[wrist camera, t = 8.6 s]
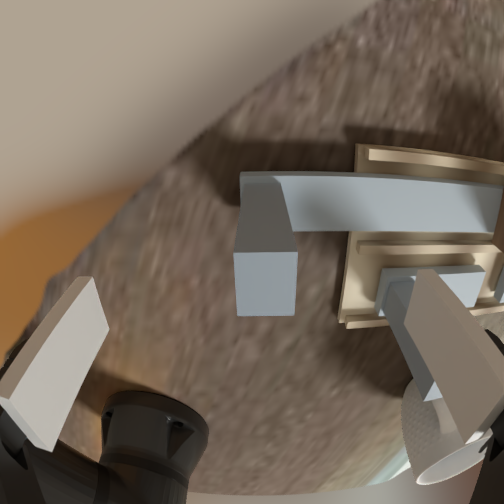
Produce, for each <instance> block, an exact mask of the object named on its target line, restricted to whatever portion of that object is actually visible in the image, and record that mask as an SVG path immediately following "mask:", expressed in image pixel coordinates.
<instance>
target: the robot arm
mask: <svg viewBox="0 0 504 504" xmlns="http://www.w3.org/2000/svg"><path fill="white" fill-rule="evenodd" d="M404 325H405V327H406V329H407V331H408V332H409V334H410V336H411V338H412V339H413V341H414V343H415V345H416V347H417V348H418V350H419V352H420V354H421V356H422V358H423V360H424V361H425V363H426V365H427V367H428V369H429V371H430V373H431V375H432V377H433V379H434V381H435V383H436V385H437V387H438V389H439V391H440V393H441V395H442V397H443V399H444V401H445V403H446V405H447V407H448V409H449V411H450V413H451V415H452V418H453V420H454V422H455V424H456V426H457V428H458V431H459V433H460V435H461V437H462V440H463V442H464V444H468V443H470V442H473V441H475V440H478V439H480V438H482V437H483V436H484V434H485V433H486V432H487V431H488V430H489V428H491V430H492V432H493V434H492V436H491V437H490V438H489V439H488V440H487V441H486V442H485V444H484V445H483V446H482V447H481V448H480V450H479V452H478V453H482V451H483V450H484V449H485V448H486V447H487V450H486V453H485V454H484V455H485V457H484V461H483V464H482V468H481V471H480V474H479V477H478V480H477V483H476V486H475V490H474V492H473V495H472V498H471V500H470V503H469V504H504V344H503V343H502V342H501V340H500V339H499V338H498V337H497V336H496V335H495V334H493V333H492V332H491V331H489V330H488V329H486V330H484V329H483V328H482V326H481V325H480V324H479V323H478V321H477V320H476V319H475V318H474V316H473V315H472V314H471V313H470V311H469V310H468V309H467V308H466V307H465V305H464V304H463V303H462V302H461V301H460V299H459V298H458V297H457V296H456V295H455V293H454V292H453V291H452V290H451V289H450V288H449V286H448V285H447V284H446V283H445V282H444V281H443V280H442V278H441V277H440V276H439V275H438V274H437V273H436V272H435V271H434V270H433V269H420V270H418V271H417V275H416V279H415V283H414V287H413V291H412V295H411V299H410V303H409V306H408V310H407V313H406V317H405V320H404ZM108 331H109V327H108V324H107V321H106V318H105V315H104V312H103V309H102V306H101V303H100V300H99V296H98V293H97V290H96V286H95V283H94V279H93V277H77V278H76V279H75V280H74V282H73V283H72V284H71V285H70V286H69V288H68V289H67V290H66V291H65V293H64V294H63V295H62V296H61V297H60V299H59V300H58V301H57V303H56V304H55V305H54V306H53V308H52V309H51V310H50V311H49V313H48V314H47V315H46V317H45V318H44V319H43V321H42V322H41V323H40V325H39V326H38V327H37V329H36V330H35V331H34V333H33V334H32V335H31V337H30V338H29V339H28V340H25V341H23V342H22V343H21V344H20V345H19V346H17V347H16V348H15V350H14V351H13V352H12V354H11V355H10V357H9V359H7V361H6V362H5V364H4V367H2V368H1V370H0V504H186V499H187V490H188V483H189V478H190V476H191V474H192V473H193V471H194V469H195V467H196V466H197V464H198V462H199V460H200V458H201V457H202V455H203V453H204V451H205V449H206V447H207V443H208V435H209V428H208V426H207V424H206V422H205V421H204V419H203V418H202V417H201V416H200V415H198V414H197V413H196V412H195V411H193V410H192V409H190V408H189V407H187V406H185V405H183V404H181V403H179V402H177V401H174V400H172V399H169V398H166V397H163V396H160V395H156V394H152V393H147V392H139V391H125V392H119V393H116V394H114V395H112V396H110V397H109V398H108V400H107V401H106V404H105V406H104V409H103V412H102V416H101V432H102V454H101V457H100V461H99V463H97V462H96V461H94V460H92V459H91V458H89V457H87V456H85V455H84V454H82V453H80V452H78V451H77V450H75V449H73V448H72V447H70V446H68V445H67V444H65V443H64V442H62V441H61V440H59V439H58V437H59V434H60V432H61V429H62V427H63V425H64V423H65V420H66V418H67V416H68V413H69V411H70V409H71V407H72V405H73V402H74V400H75V398H76V396H77V394H78V392H79V389H80V387H81V385H82V383H83V381H84V379H85V377H86V375H87V373H88V371H89V369H90V367H91V365H92V363H93V361H94V359H95V357H96V355H97V353H98V351H99V349H100V347H101V345H102V343H103V341H104V339H105V337H106V335H107V333H108Z"/></svg>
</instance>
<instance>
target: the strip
mask: <svg viewBox="0 0 504 504" xmlns="http://www.w3.org/2000/svg"><path fill="white" fill-rule="evenodd" d="M503 188H504V186H500V185H493V184H486V183H478V182H470V181H461V180H452V179H442V178H431V177H420V176H407V175H392V174H375V173H354V172H320V171H253V172H241V173H240V199H241V208H240V214H239V221H238V227H237V233H236V240H235V246H234V270H235V286H236V302H237V316H284V315H294V312H295V296H296V278H297V257H298V251H297V247H296V242H295V238H294V234H293V231H431V232H488V233H494V231H495V227H496V222H497V218H498V213H499V209H500V204H501V199H502V194H503Z"/></svg>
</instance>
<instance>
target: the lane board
mask: <svg viewBox="0 0 504 504" xmlns="http://www.w3.org/2000/svg"><path fill="white" fill-rule="evenodd" d="M354 173H375V174H392V175H407V176H420V177H431V178H442V179H452V180H461V181H470V182H478V183H486V184H493V185H500V186H504V162H499V161H494V160H488V159H483V158H477V157H472V156H466V155H459V154H453V153H446V152H439V151H431V150H423V149H415V148H405V147H395V146H384V145H372V144H357V143H356V144H355V164H354ZM493 235H494V233H488V232H431V231H349V236H348V245H347V254H346V262H345V269H344V277H343V284H342V291H341V298H340V304H339V311H338V317H337V318H338V321H339V323H345V326H346V329H352V328H366V327H379V326H390V325H389V323H388V321H387V319H386V317H385V316H378V314H377V312H376V310H375V308H374V305H375V301H376V296H377V291H378V287H379V282H380V277H381V272H382V268H408V267H435V266H459V265H480V266H481V267H482V268H483V269H484V270H485V271H486V274H485V277H484V280H483V283H482V286H481V289H480V292H479V294H478V297H477V300H476V302H475V305H474V307H468V308H467V309H468V310H469V311H470V313H471V314H472V315H473V316H475V315H482V314H488V313H495V312H501V311H504V303H499V302H498V301H497V300H496V298H495V297H494V296H493V295H494V293H495V290H496V287H497V284H498V282H499V279H500V276H501V273H502V270H503V267H504V253H503V252H502V251H500V250H499V249H498V248H497V247H496V246H494V245H493V244H492V243H491V242H492V238H493Z"/></svg>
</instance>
